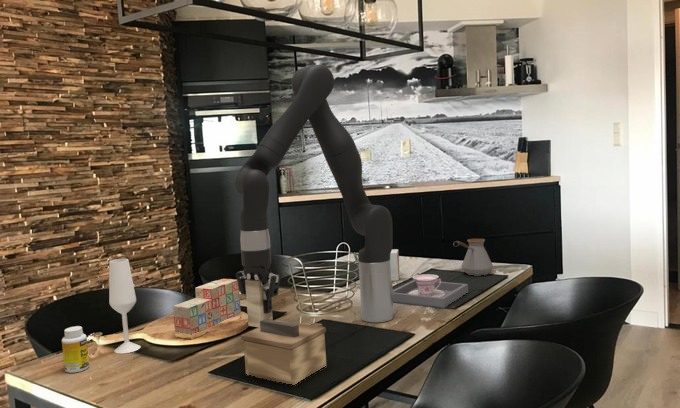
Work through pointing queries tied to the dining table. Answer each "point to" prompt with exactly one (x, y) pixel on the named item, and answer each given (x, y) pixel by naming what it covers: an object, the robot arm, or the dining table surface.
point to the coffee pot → (476, 258)
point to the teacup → (427, 286)
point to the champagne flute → (122, 297)
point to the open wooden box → (285, 360)
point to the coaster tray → (451, 295)
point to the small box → (394, 265)
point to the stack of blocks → (208, 306)
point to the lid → (283, 333)
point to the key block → (255, 303)
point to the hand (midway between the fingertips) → (260, 311)
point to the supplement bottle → (75, 350)
